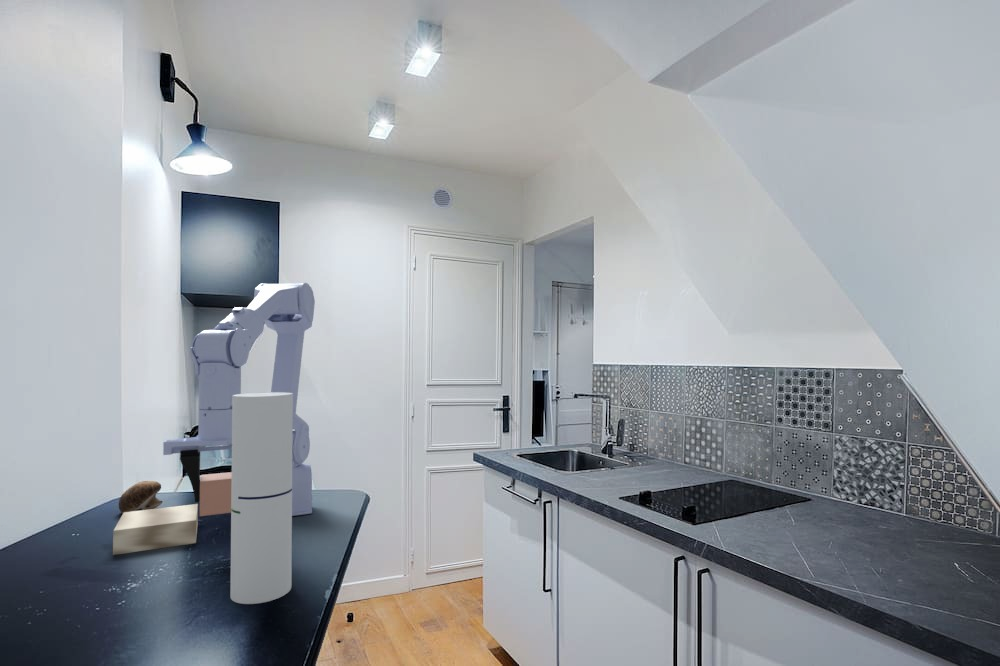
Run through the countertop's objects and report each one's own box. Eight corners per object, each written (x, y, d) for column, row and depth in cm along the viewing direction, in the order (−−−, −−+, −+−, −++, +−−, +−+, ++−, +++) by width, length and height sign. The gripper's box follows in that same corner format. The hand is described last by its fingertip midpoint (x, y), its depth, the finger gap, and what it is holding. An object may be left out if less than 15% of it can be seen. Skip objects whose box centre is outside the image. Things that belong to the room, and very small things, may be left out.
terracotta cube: (236, 503, 87) (237, 471, 87) (237, 511, 82) (237, 477, 82) (200, 507, 84) (201, 474, 84) (199, 516, 80) (199, 481, 80)
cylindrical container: (269, 606, 66) (271, 396, 67) (217, 601, 67) (219, 396, 68) (302, 581, 73) (303, 392, 74) (254, 577, 74) (256, 392, 75)
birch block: (197, 526, 98) (197, 503, 98) (195, 545, 88) (196, 520, 88) (123, 536, 93) (123, 512, 93) (112, 557, 83) (113, 530, 83)
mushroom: (180, 489, 110) (158, 466, 108) (153, 515, 102) (129, 491, 101) (153, 506, 112) (131, 483, 110) (125, 532, 104) (101, 509, 103)
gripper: (161, 413, 77) (160, 511, 77) (273, 408, 83) (272, 498, 83) (166, 408, 83) (165, 499, 83) (269, 404, 90) (269, 488, 89)
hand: (219, 498), depth 83 cm, fingers closed on terracotta cube, 5 cm apart
